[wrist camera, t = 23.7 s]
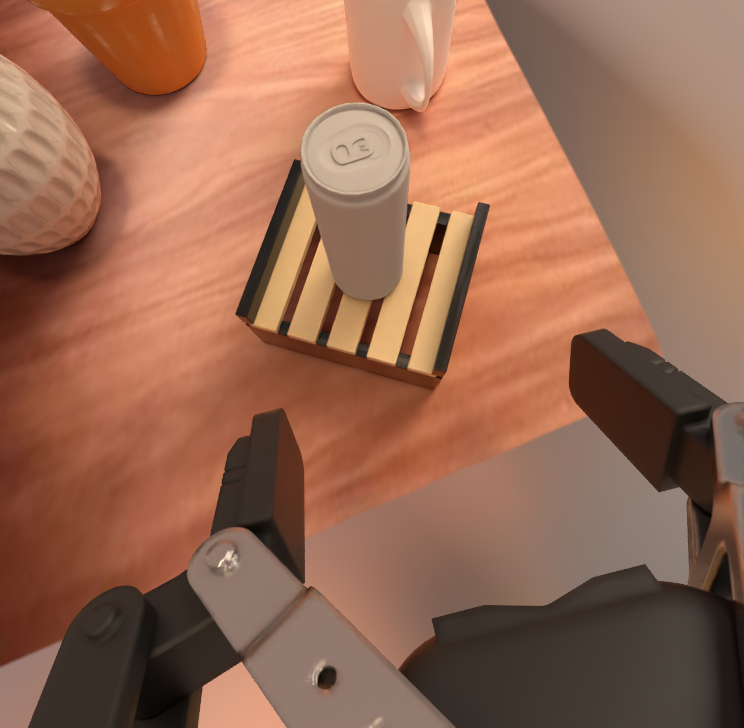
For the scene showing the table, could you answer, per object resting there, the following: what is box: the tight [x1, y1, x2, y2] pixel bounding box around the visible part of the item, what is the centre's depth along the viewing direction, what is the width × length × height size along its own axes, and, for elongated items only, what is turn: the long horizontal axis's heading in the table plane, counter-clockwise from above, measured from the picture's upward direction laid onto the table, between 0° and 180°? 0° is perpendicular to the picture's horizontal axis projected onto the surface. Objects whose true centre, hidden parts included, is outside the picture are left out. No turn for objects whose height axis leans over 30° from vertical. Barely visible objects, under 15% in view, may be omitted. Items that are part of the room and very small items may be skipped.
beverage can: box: [300, 103, 410, 300], centre depth 24 cm, size 5×5×12 cm
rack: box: [236, 159, 490, 390], centre depth 31 cm, size 14×12×7 cm
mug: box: [344, 0, 456, 112], centre depth 34 cm, size 9×12×11 cm
